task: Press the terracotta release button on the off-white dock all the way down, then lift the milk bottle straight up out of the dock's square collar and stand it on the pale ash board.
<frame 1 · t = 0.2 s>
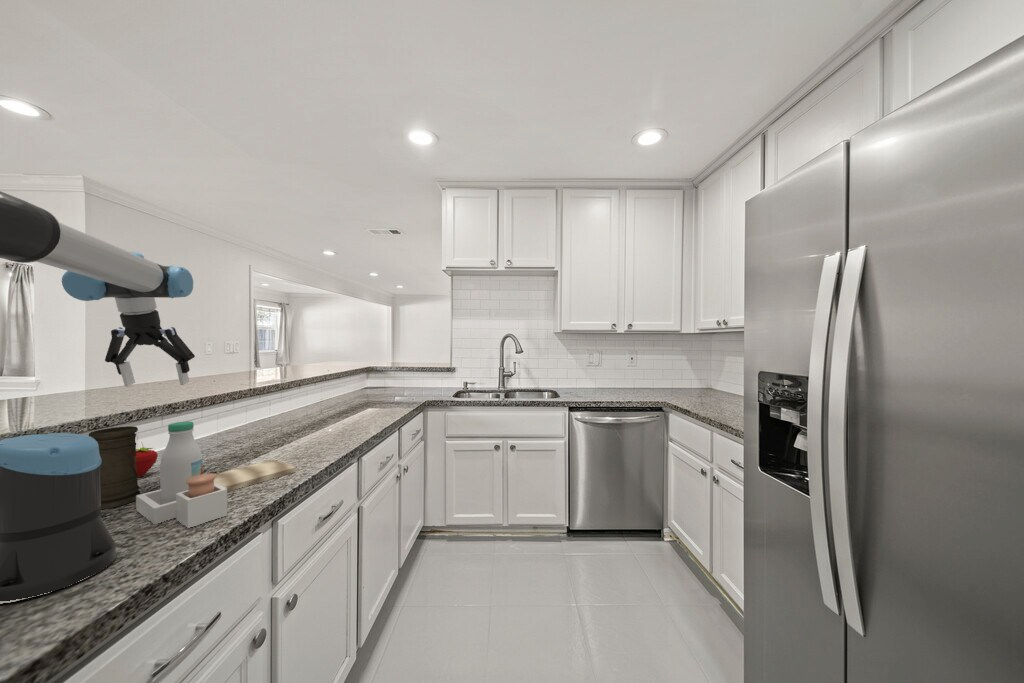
hand: (157, 384, 110), 28 cm above the table, tool tilted 20°, fingers open, 13 cm apart
container: (115, 502, 96), on the table
milk bottle: (182, 507, 92), resting in dock
strawberry: (141, 477, 114), on the table
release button: (201, 490, 86), point 6 cm above the table, slide at 0.0 cm
dock: (182, 506, 92), on the table
ash board: (251, 477, 112), on the table
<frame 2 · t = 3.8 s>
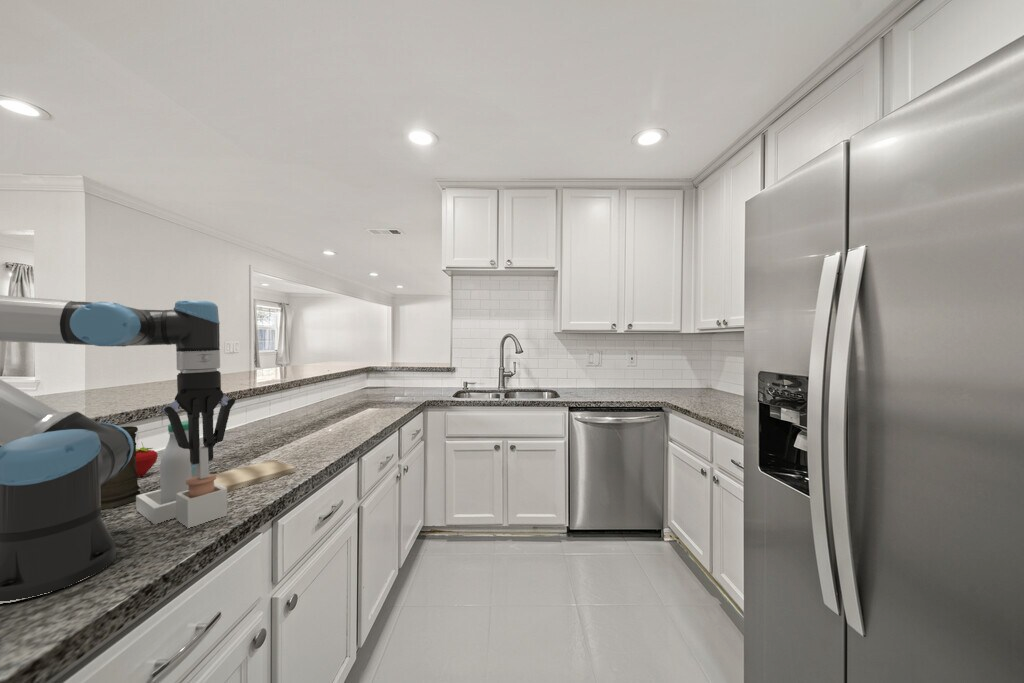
hand: (202, 476, 86), 9 cm above the table, tool pointing down, fingers closed
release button: (201, 490, 86), point 6 cm above the table, slide at 0.2 cm, touching gripper
everything else where it was.
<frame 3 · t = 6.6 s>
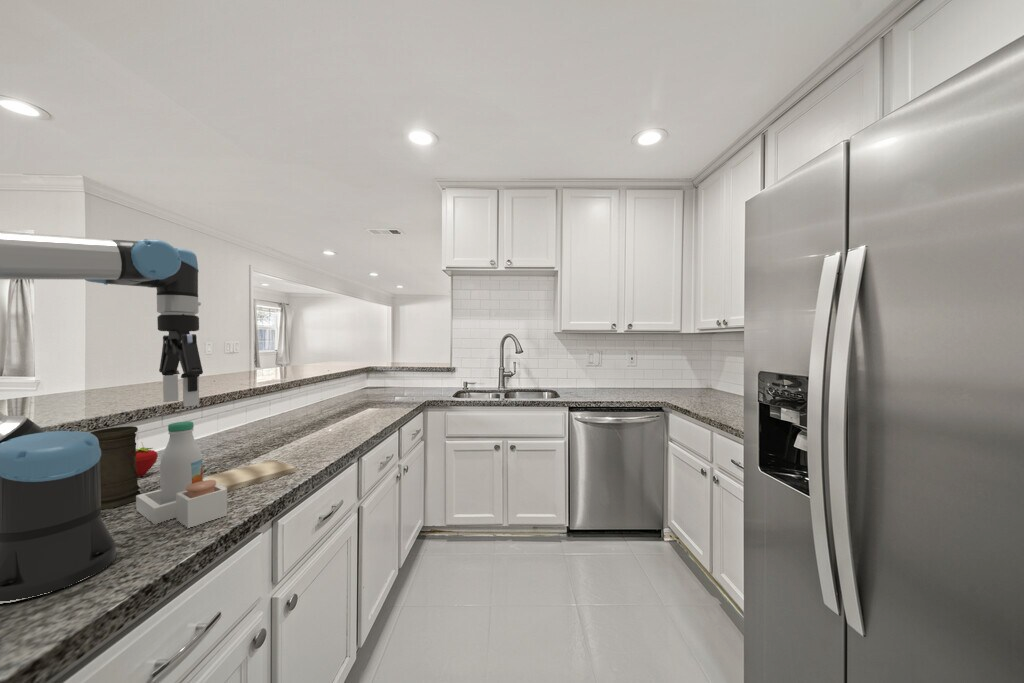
hand: (180, 403, 92), 25 cm above the table, tool pointing down, fingers open, 13 cm apart
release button: (201, 496, 86), point 5 cm above the table, slide at 1.5 cm
everything else where it was.
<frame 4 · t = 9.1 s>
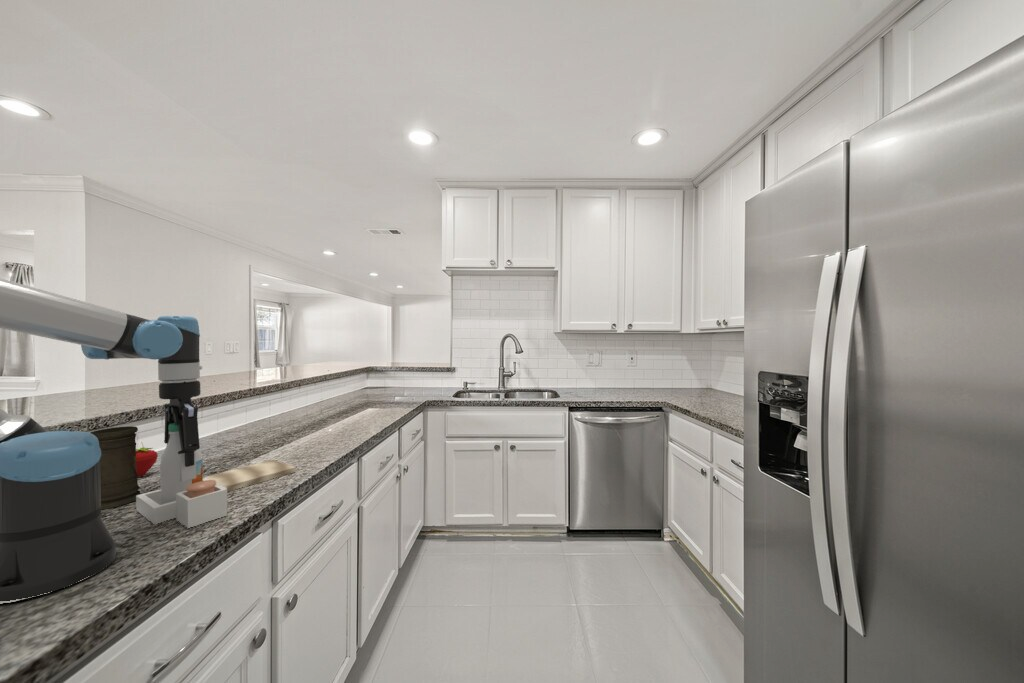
hand: (182, 476, 92), 7 cm above the table, tool pointing down, fingers closed on milk bottle, 7 cm apart
milk bottle: (182, 507, 92), resting in dock, touching gripper
everything else where it was.
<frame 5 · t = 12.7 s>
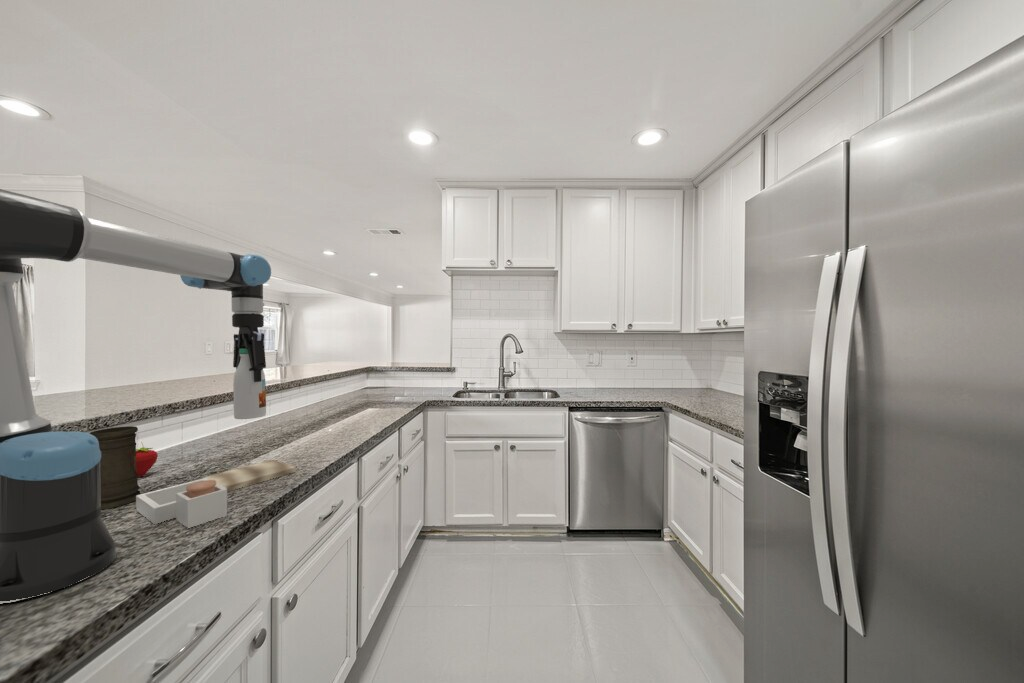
hand: (249, 392, 112), 25 cm above the table, tool pointing down, fingers closed on milk bottle, 7 cm apart
milk bottle: (250, 417, 112), point 17 cm above the table, touching gripper
everything else where it was.
when the fingers open (10 cm above the table, at t = 16.1 s): milk bottle stays where it is, resting on ash board.
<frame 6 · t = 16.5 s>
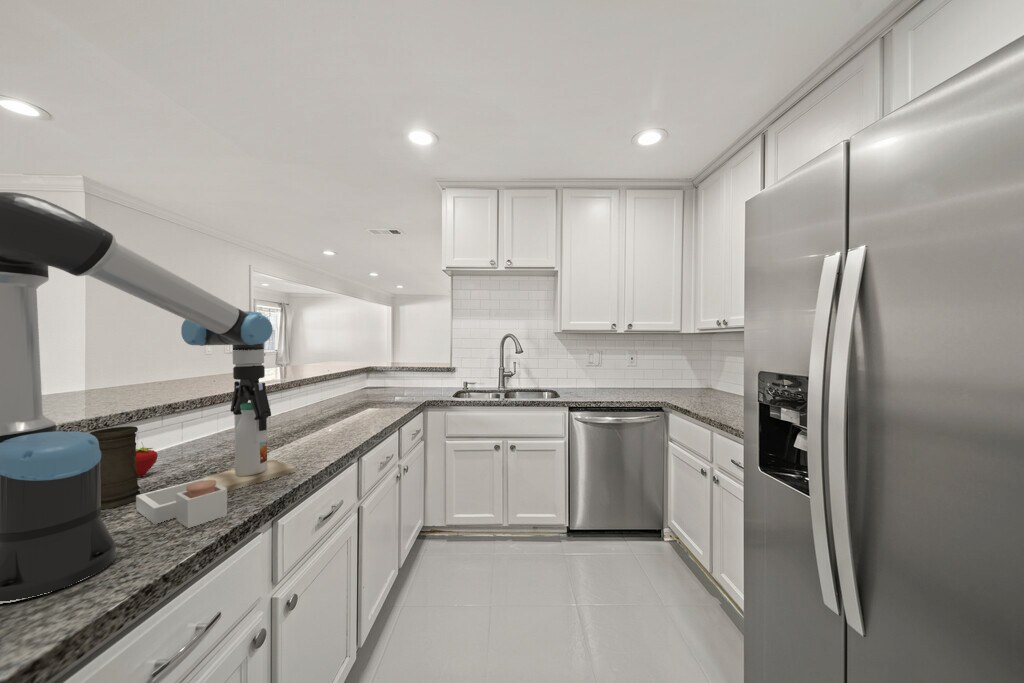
hand: (250, 439, 112), 11 cm above the table, tool pointing down, fingers open, 12 cm apart
milk bottle: (251, 472, 111), point 1 cm above the table, touching ash board
everything else where it was.
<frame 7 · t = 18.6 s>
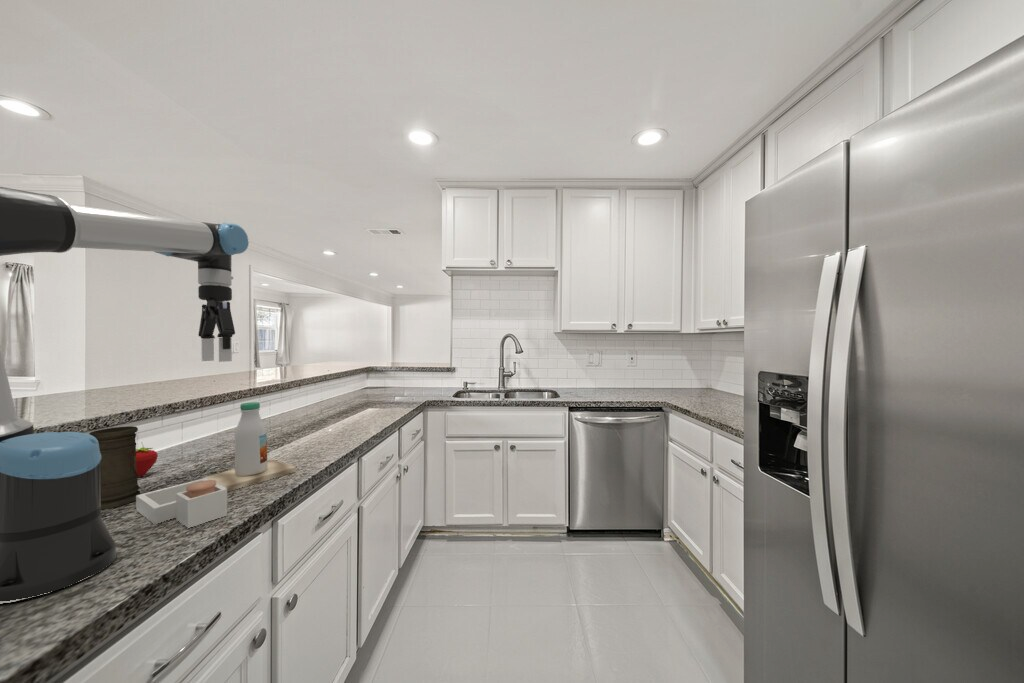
hand: (216, 361, 109), 34 cm above the table, tool pointing down, fingers open, 13 cm apart
nothing on the table moved.
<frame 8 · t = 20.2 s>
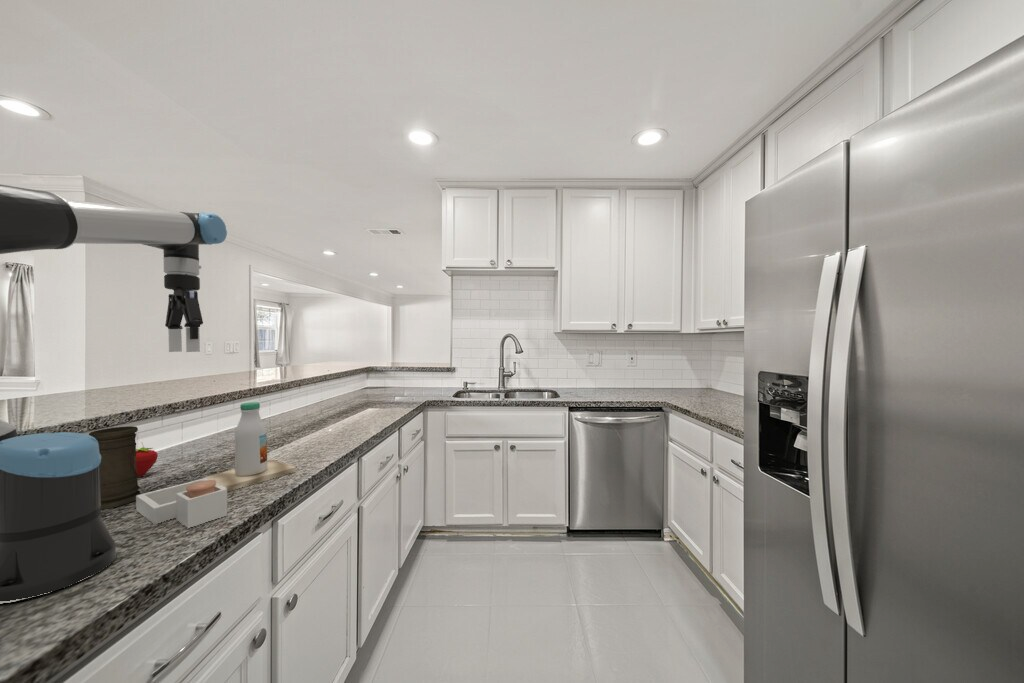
hand: (183, 351, 107), 37 cm above the table, tool pointing down, fingers open, 13 cm apart
nothing on the table moved.
at the end: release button slide at 1.5 cm; milk bottle inside the target area on the ash board (0.3 cm from its centre), point 1.3 cm above the ash board's base; milk bottle tilted 0° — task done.
